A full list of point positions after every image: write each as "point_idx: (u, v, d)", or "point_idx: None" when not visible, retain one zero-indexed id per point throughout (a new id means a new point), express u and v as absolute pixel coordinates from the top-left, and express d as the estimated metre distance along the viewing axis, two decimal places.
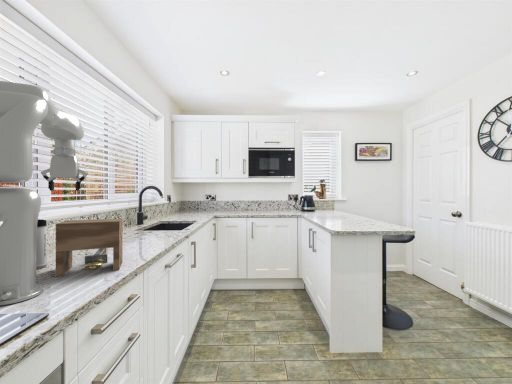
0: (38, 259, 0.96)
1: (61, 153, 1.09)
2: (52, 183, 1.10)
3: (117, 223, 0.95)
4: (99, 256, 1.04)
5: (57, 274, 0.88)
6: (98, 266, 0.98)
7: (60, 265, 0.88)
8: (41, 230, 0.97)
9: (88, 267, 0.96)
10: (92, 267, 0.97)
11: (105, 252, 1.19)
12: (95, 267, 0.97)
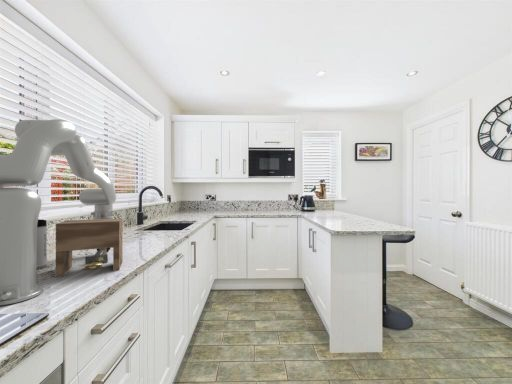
0: (38, 259, 0.96)
1: (101, 216, 1.17)
2: None
3: (117, 223, 0.95)
4: (99, 256, 1.05)
5: (57, 274, 0.88)
6: (98, 266, 0.98)
7: (60, 265, 0.88)
8: (41, 230, 0.97)
9: (88, 267, 0.96)
10: (92, 267, 0.97)
11: (105, 252, 1.19)
12: (95, 267, 0.97)
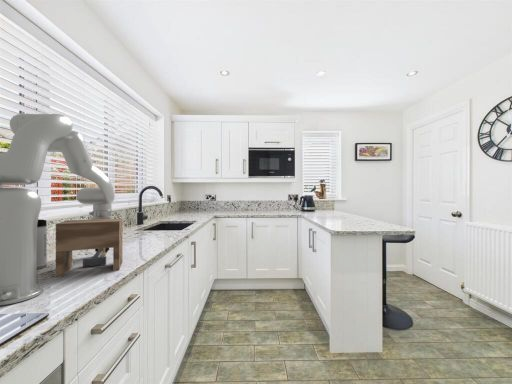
0: (38, 259, 0.96)
1: (100, 216, 1.13)
2: None
3: (117, 223, 0.95)
4: (97, 259, 1.01)
5: (57, 274, 0.88)
6: None
7: (60, 265, 0.88)
8: (41, 230, 0.97)
9: None
10: None
11: (104, 253, 1.16)
12: None
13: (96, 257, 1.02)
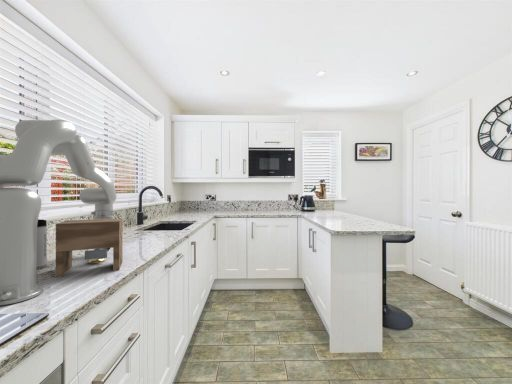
0: (38, 259, 0.96)
1: (101, 215, 1.17)
2: None
3: (117, 223, 0.95)
4: (99, 251, 1.04)
5: (57, 274, 0.88)
6: (101, 261, 1.06)
7: (60, 265, 0.88)
8: (41, 230, 0.97)
9: (92, 262, 1.04)
10: (95, 262, 1.04)
11: None
12: (98, 262, 1.05)
13: (98, 249, 1.05)
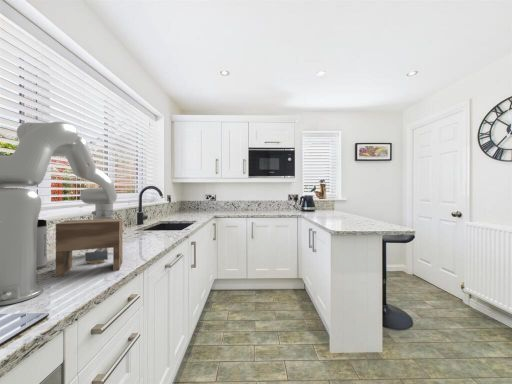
0: (38, 259, 0.96)
1: (102, 215, 1.18)
2: None
3: (117, 223, 0.95)
4: (99, 253, 1.06)
5: (57, 274, 0.88)
6: (100, 261, 1.06)
7: (60, 265, 0.88)
8: (41, 230, 0.97)
9: (91, 262, 1.04)
10: (94, 262, 1.04)
11: (105, 251, 1.20)
12: (97, 262, 1.05)
13: (98, 251, 1.06)
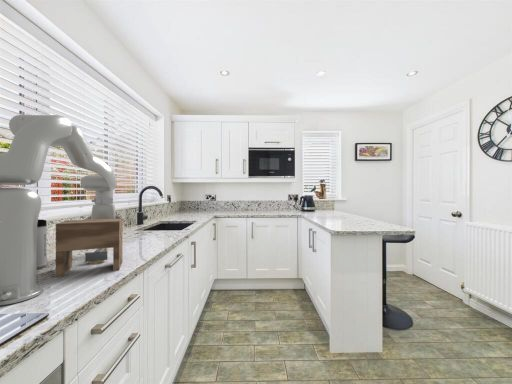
0: (38, 259, 0.96)
1: (102, 203, 1.18)
2: None
3: (117, 223, 0.95)
4: (99, 253, 1.06)
5: (57, 274, 0.88)
6: (100, 261, 1.06)
7: (60, 265, 0.88)
8: (41, 230, 0.97)
9: (91, 262, 1.04)
10: (94, 262, 1.04)
11: (105, 251, 1.20)
12: (97, 262, 1.05)
13: (98, 251, 1.06)
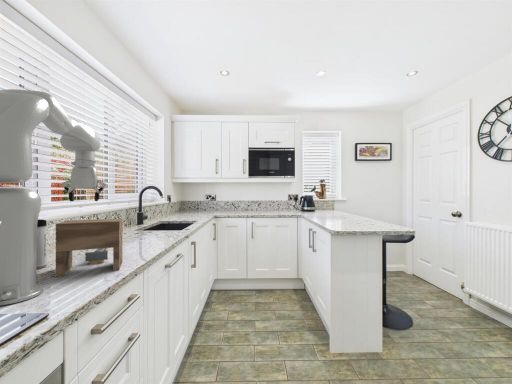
0: (38, 259, 0.96)
1: (81, 165, 1.11)
2: (72, 194, 1.12)
3: (117, 223, 0.95)
4: (99, 253, 1.06)
5: (57, 274, 0.88)
6: (100, 261, 1.06)
7: (60, 265, 0.88)
8: (41, 230, 0.97)
9: (91, 262, 1.04)
10: (94, 262, 1.04)
11: (105, 251, 1.20)
12: (97, 262, 1.05)
13: (98, 251, 1.06)
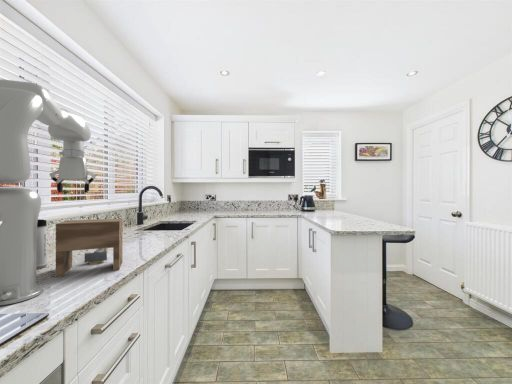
0: (38, 259, 0.96)
1: (70, 155, 1.08)
2: (61, 185, 1.09)
3: (117, 223, 0.95)
4: (99, 253, 1.05)
5: (57, 274, 0.88)
6: (100, 262, 1.06)
7: (60, 265, 0.88)
8: (41, 230, 0.97)
9: (90, 262, 1.04)
10: (94, 263, 1.04)
11: (105, 251, 1.20)
12: None
13: (97, 252, 1.06)
